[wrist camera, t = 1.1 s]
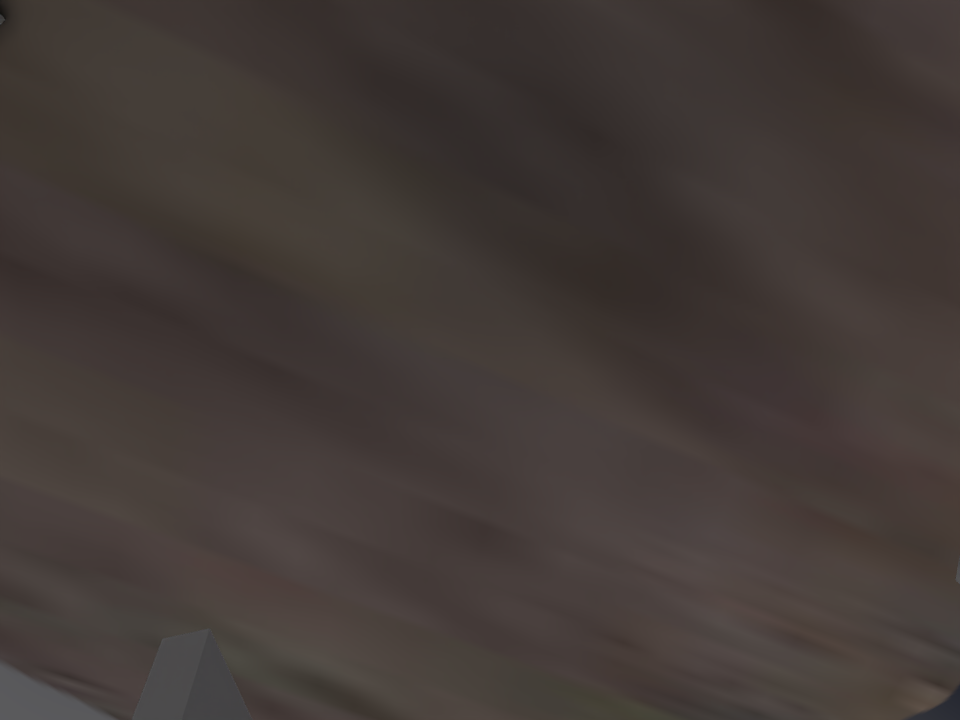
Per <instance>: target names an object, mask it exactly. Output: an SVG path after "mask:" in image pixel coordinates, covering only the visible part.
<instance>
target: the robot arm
mask: <svg viewBox="0 0 960 720" xmlns="http://www.w3.org/2000/svg"><path fill="white" fill-rule="evenodd" d="M956 581H957V582H958V583H959V584H960V557H959V563H958V569H957V574H956ZM132 720H252V718H251V716H250V714H249V711H248V709H247V707H246V705H245V703H244V701H243V699H242V696H241V694H240V692H239V690H238V688H237V686H236V684H235V681H234V679H233V677H232V675H231V673H230V671H229V669H228V666H227V664H226V662H225V660H224V658H223V656H222V653H221V651H220V649H219V647H218V645H217V643H216V641H215V638H214V636H213V634H212V632H211V630H210V628H209V629H205V630H200V631H196V632H191V633H187V634H182V635H178V636H173V637H169V638H164V639H162V642H161V644H160V647H159V649H158V652H157V655H156V657H155V660H154V663H153V665H152V668H151V670H150V673H149V676H148V678H147V681H146V684H145V686H144V689H143V691H142V694H141V697H140V699H139V702H138V705H137V707H136V710H135V712H134V715H133V718H132Z"/></svg>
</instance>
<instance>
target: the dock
mask: <svg viewBox="0 0 960 720" xmlns="http://www.w3.org/2000/svg"><path fill="white" fill-rule="evenodd" d="M4 21H5V19H4V17H3V16H2V15H1V14H0V24H1V23H3V22H4Z"/></svg>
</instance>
